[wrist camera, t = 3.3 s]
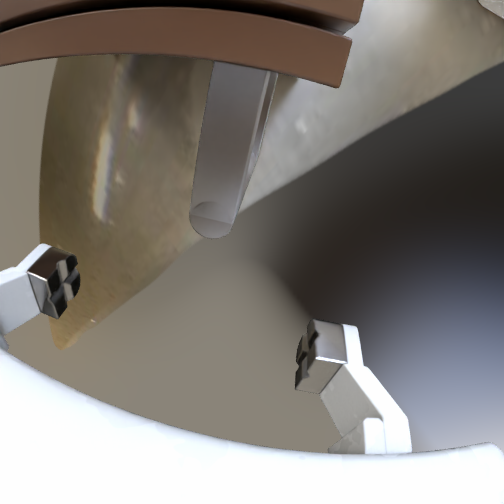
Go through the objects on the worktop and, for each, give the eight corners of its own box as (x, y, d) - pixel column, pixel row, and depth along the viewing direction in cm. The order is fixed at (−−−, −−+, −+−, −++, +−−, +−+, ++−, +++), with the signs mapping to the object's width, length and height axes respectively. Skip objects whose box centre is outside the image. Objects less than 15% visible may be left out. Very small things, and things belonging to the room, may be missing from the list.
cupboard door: (281, 148, 27) (253, 351, 8) (104, 118, 26) (-81, 222, 8) (302, 67, 22) (353, 38, 4) (112, 45, 22) (-98, 81, 3)
